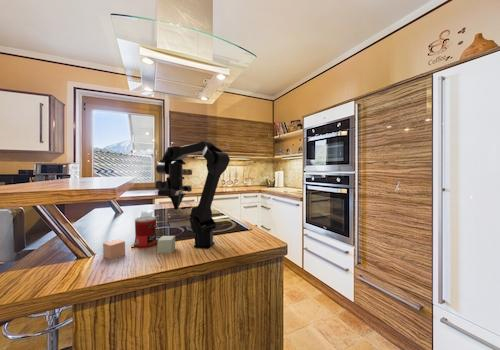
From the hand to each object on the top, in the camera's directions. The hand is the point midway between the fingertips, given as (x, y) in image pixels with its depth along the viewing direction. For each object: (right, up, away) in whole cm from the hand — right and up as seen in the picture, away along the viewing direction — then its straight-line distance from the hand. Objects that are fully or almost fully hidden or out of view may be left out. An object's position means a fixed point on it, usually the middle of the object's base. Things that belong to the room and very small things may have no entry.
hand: (176, 209), depth 97 cm
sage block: (+1, -14, -14) cm, 20 cm away
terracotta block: (-16, -14, -19) cm, 28 cm away
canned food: (-10, -14, -8) cm, 18 cm away
